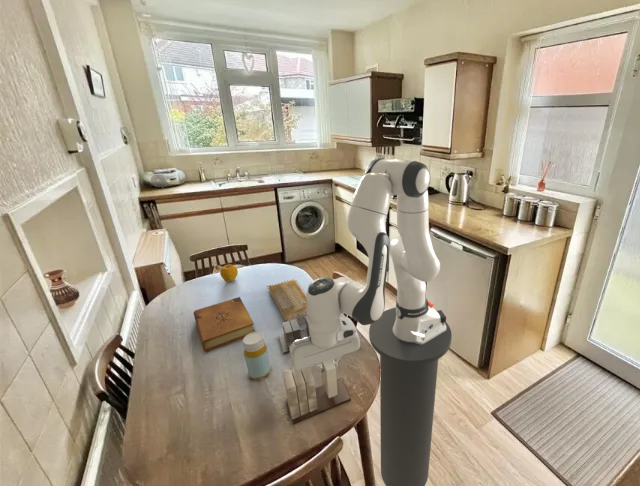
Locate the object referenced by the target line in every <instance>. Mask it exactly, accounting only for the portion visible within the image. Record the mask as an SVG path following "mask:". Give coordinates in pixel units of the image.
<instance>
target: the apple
mask: <svg viewBox="0 0 640 486" xmlns="http://www.w3.org/2000/svg"><path fill="white" fill-rule="evenodd" d="M238 271H239V270H238V267H236V265H234V264H230V263H229V264H225V265H224V266H222V267H220V271H219V274H220V275H219V276H220V277H221V278H222V280H223V281H225V282H227V283H231V282H233V281H234V280H236V278H237V277H238V273H239V272H238Z"/></svg>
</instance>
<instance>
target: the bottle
mask: <svg viewBox="0 0 640 486" xmlns="http://www.w3.org/2000/svg"><path fill="white" fill-rule="evenodd" d="M242 343H243V347H244V348H243V349H244V350H243V354H244V360H245V363H246V368H247V372H248V376H249V378H251V379H252V380H261V379H264V378H265V377H267V376H268V375H269V373H270V372H271V363H270V359H269V352H268V349H267V347H268V346H267V344H266V343H265V340H264V334H263V333H261V332H259V331H255V332H253V333H250V334H248V335H246V336H245V337H244V339H242Z"/></svg>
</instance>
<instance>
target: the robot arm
mask: <svg viewBox="0 0 640 486" xmlns="http://www.w3.org/2000/svg"><path fill="white" fill-rule="evenodd" d="M430 184H431V171H430V169H429V168H428V166H427V165H426V164H425V163H423V162H421V161H417V160H409V159H403V158H384V157H382V158H381V157H380V158H375V159H373V160H371V161H370V162H369V163H368V165H367V167H366V168H365V171H364V175H362V177H361V178H360V180H359V182H358V184H357V187H356V189H355V191H354V193H353V196H352V200H351V203H350V207H349V209H348V214H347V228H348V230H349V232H350V233H351V235H352V236H353V237H354V239H356V240H357V241H358V242H359V244H361V245H362V247H363V248H364V249H365V251H366V253H367V257H368V265H367V267H368V268H367V273H366V280H365V285H363V284H361V283H360V282H358V281H356V280H353V279H351V278H349V277H347V276H339V277H337V278H331V277H328V276H327V277H326V276H325V277H323V276H322V277H319V278H316V279H314V280H312V281H311V283H309V285H308V287H307V290H306V294H307V295H306V306H307V309H306V310H307V312H306V314H307V315H308V317H309V334H310V336H309V337H305V338H303V339H300V340H296V341H294V343H292V344H291V345H290V346H289V352H290V353H289V354H290V355H291V357H290V358H291V364H292V369H293V368H294V369H295V370H297V371H299V370H302V369H304V368H307V367H313V366H315V368H317V370H318V372H319V374H321V373H322V372H324V366H323V364H321V363H322V362H325V361H327V360H330V359H332V361H333V363H334V365H335V367H336V368H339V364H338V363H340V360H341V358H342V356H344V355H348V354H351V353H354V352H356V351H358V350H359V349H360V347H361V340H360V336H359V333H358V332H357V327H356V325H355V323H354V322H353V321H352V320H351V319H350V318H352V319H353V320H354V321H355V322H357V323H358V324H360V325H361V326H370V325H371V324H372V323H374V322H376V321H378V320H379V319H380V318H381V316H382V315H383V312H384V311H385V308H386V295H385V294H386V293H385V292H386V283H387V275H388V269H389V260H390V258H391V261H392V265H393V270H394V274H395V279H396V287H397V288H396V290H397V291H396V296H397V297H396V300H395V308H396V320H395V323H394V326H393V333H394V335H395V336H396V337H397V338H399V339H400V340H403V341H406V342H414V343H417V344H420V345H423V344H424V343H426V342H428V341H429V340H431V339H433V338H434V337H436V336H438V335H439V334H441V333H443V332H444V331H446V325H445V323H444V322H447V316H446V315H445V313H444V312H443V311H442V309H438V310H436V309H435V308H434V306H435V304H434V303H433V302H432V301H431V300H430V301H429V300H428V299H427V297H426V293H427V284H426V283H429V282H431V281H433V280H434V279H435V278H436V277H438V275H439V273H440V271H441V261H440V260H439V259H438V256H437V255H436V253H435V250H434V246H433V241H432V238H431V234H430V227H429V222H430V220H429V218H430V217H429V215H430V214H429V213H430V211H429V209H430V207H429V203H430V201H429V191H428V189H429V187H430ZM392 196H396V228H397V232H398V234H399V236H396V237H394V238H393V239H392V240H390V237H389V235H388V233H387V229H386V228H387V225H386V224H387V223H386V222H387V218H388V217H387V216H388V213H389V210H390V205H391V199H392ZM342 314H345V315H347V316H349V317H347V316H346V317H342V316H341V315H342ZM340 316H341V317H340Z"/></svg>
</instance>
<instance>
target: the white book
mask: <svg viewBox="0 0 640 486" xmlns="http://www.w3.org/2000/svg"><path fill="white" fill-rule="evenodd" d="M332 360H333V359H330V360H327V361H325V362H322V363H320V364H323V366H324V372H322V373H320V374H321V382H322V385H324V388H325V390H326V393H327V395H328V398H331V397H333V396H336V395H337V379H338V378H337V367H335V365H334V363H333V361H332Z"/></svg>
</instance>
